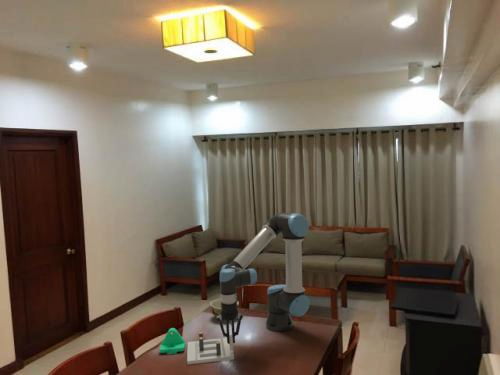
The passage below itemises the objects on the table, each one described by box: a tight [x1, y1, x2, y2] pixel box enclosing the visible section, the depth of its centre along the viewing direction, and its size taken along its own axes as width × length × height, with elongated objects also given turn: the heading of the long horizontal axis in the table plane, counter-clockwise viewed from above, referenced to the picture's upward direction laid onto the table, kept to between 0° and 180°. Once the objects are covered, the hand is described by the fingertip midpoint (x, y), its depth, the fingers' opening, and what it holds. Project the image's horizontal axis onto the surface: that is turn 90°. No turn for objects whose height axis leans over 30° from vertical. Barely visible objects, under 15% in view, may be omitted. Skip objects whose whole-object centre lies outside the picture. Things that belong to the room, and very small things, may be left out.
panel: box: [186, 337, 235, 366], centre depth 209 cm, size 22×22×2 cm
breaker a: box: [198, 331, 204, 338], centre depth 216 cm, size 2×3×5 cm
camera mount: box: [159, 327, 186, 355], centre depth 213 cm, size 12×8×10 cm, turn 94°
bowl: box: [209, 298, 240, 320], centre depth 255 cm, size 18×18×10 cm
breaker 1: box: [198, 336, 204, 350], centre depth 209 cm, size 2×3×5 cm
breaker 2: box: [216, 341, 221, 354], centre depth 203 cm, size 2×3×5 cm
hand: (231, 349), depth 204 cm, fingers closed
